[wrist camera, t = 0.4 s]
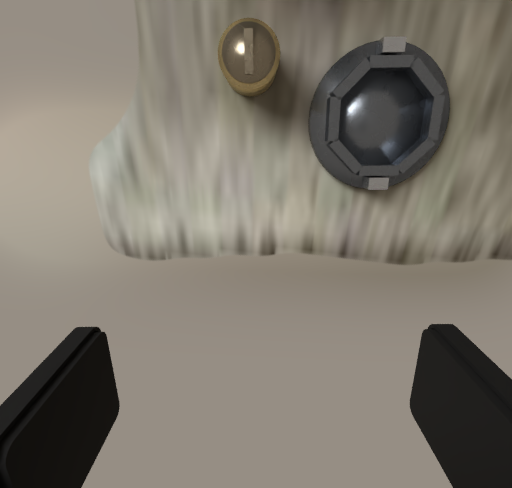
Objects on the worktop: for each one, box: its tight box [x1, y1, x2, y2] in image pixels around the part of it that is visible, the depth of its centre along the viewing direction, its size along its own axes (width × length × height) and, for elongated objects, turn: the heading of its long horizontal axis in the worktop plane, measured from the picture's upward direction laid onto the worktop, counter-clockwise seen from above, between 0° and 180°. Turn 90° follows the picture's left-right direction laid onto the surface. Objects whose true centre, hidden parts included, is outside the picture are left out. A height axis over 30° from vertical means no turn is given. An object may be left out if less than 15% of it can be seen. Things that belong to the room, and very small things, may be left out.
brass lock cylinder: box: [218, 18, 280, 97], centre depth 28 cm, size 5×5×6 cm
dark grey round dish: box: [309, 36, 450, 190], centre depth 32 cm, size 14×14×3 cm
